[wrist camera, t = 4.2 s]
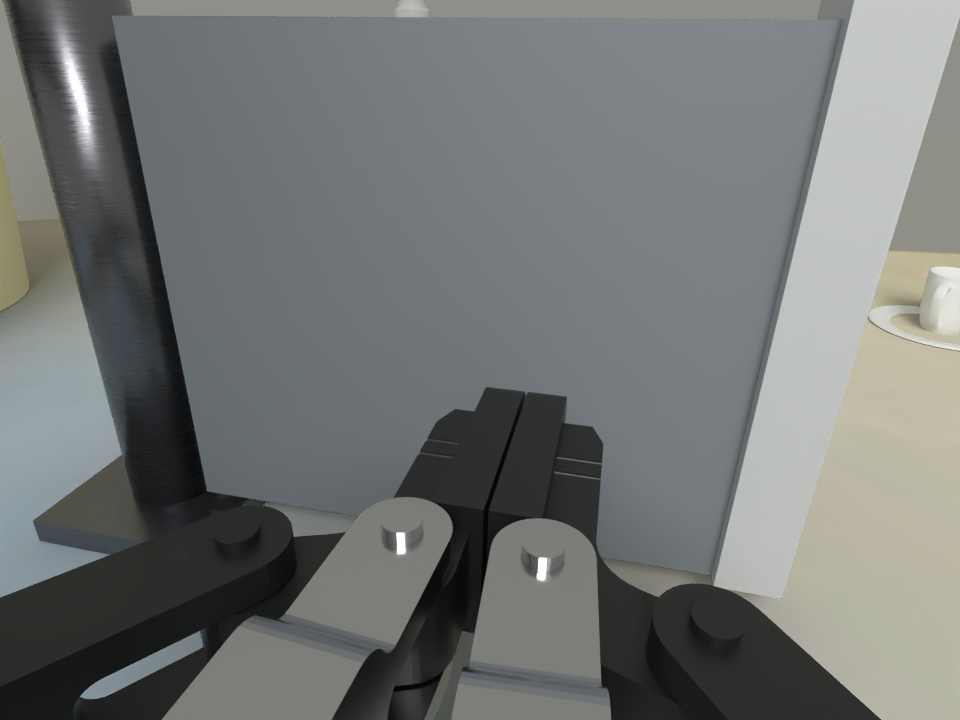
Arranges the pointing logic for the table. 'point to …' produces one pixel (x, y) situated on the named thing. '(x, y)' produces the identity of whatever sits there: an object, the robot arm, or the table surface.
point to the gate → (534, 246)
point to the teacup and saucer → (929, 308)
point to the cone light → (10, 246)
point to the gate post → (112, 280)
